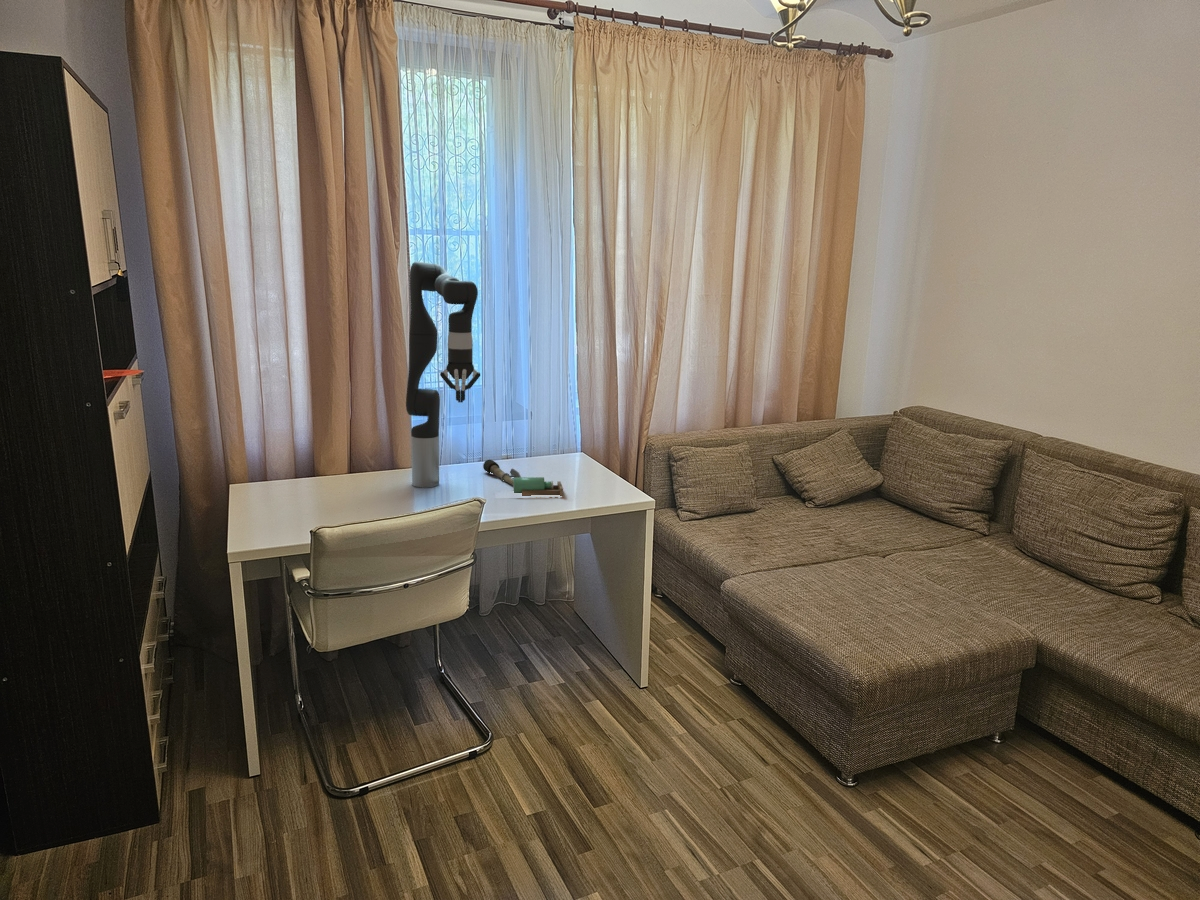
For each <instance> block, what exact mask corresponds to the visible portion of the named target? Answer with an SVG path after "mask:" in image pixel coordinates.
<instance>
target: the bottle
mask: <svg viewBox="0 0 1200 900" xmlns="http://www.w3.org/2000/svg"><path fill="white" fill-rule="evenodd" d="M512 480H513V485H512V487H513V488H512V489H513V490H512V491H514V493H522V490H544V489H553V485H554V481H553V480H551V481H549V480H548V481H545V477H543V476H541V477H538V476H537V477H533V476H532V477H531V476H530V477H527V476H526V477H525V476H524V477H522V476H521V477H514V479H513V478H512Z"/></svg>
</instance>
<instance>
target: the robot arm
mask: <svg viewBox="0 0 1200 900" xmlns="http://www.w3.org/2000/svg"><path fill="white" fill-rule="evenodd" d="M423 291H425V292H437V294H438V295H440V296H441V297H442V299H443V301H444V302H445V303H446V304H449V305H463V306H462V308H461V309H460V310H459V311H454V312H451V313H449V315H448V335H447V365H446V367H445V369H444V370H443V371H440V373H439V376H440V377H441V379H442V380H443V381H444V382H445V383H446V385H447V386H448V387H449V389H452V390H454V391H455V400H456V401H457V403H460V404H461V403H463V402H464V401H465V400H466V391H467V390H470V389H471V388H472V387H473V386H474V384H475V383H476V382H477V381H478V380H479V379H480V377H481V373H480V372H479V371H477V370H476V369H475V366H474V365H473V350H474V349H473V348H474V347H473V346H474V345H473V330H472V329H473V328H472V325H473V324H472V323H473V315H474V310H475V306H476V303H477V300H478V295H479V291H478V287H477V285H476V283H474V281H470V280H459V278H457V277H455V276H453V275H450V274H449V273H448V272H447V270H446V269H445V268H444V267H443V266H441V265H440V264H437V263H432V262H431V263H430V262H423V261H414V262H413V263H412V264H411V267H410V269H409V294H410V295H409V297H410V314H409V315H410V317H409V320H410V321H409V335H408V336H409V337H408V338H409V339H408V348H409V349H408V375H407V376H408V377H407V383H406V395H405V396H406V397H405V409H406V413H407V414H408V415H409V416H412V417H427V421H425V422H424V423H420V424H417V425H415V426H412V428H410V429H411V430H410V435H411V437H410V438H411V443H410V444H411V484H412V486H413V487H417V488H431V487H432V488H433V487H437V486H439V485H440V412H441V411H440V409H441V407H440V405H441V399H440V398H441V396H440V393H439V391H438V390H437V389H432V388H431V389H429V388H419V387H420V381H421V377H422V375H423V373H424V372H425V370H426V369H427V367H428V366H429V364H430V362H431V361H432V360H433V359H434V357H435V354H436V352H437V350H438V329H437V326H436V324H435V322H434V321H433V319H432V317H431V316H430V314H429V312H428V310H427V308H426V305H425V302H424V298H423V297H424V296H423ZM471 374H472V378H471V379H470V381H469V382H468V383H466V382H467V381H466V380H468V379H469V378H470V376H471ZM449 375H450V377H451V378H452V379H453V380H454V383H453V382H452V381H451V379H450V378H449ZM460 380H461V382H460ZM460 383H461V385H460Z"/></svg>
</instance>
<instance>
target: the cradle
mask: <svg viewBox="0 0 1200 900" xmlns="http://www.w3.org/2000/svg"><path fill="white" fill-rule="evenodd" d="M531 495H560V496H563V497H564V487H563V484H562V482H561V481H557V484H553V489H544V490H522V496H531Z"/></svg>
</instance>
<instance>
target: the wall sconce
mask: <svg viewBox="0 0 1200 900" xmlns="http://www.w3.org/2000/svg"><path fill="white" fill-rule="evenodd" d="M482 467H483V469H484V471H485V472H486V471H487V472H489V473H490V472H491V473H493V474H495V475H494V476H496V477H498V478H499V477H500V478H499V479H501V481H502V480H504V481H505V483H506V482H507V483H508V484H509V485H512V486H513V478H512V477H522V476H521V474H520V471H517V470H516V469H514V468H513V467H512V468H511V470H510V471H509V473H507V472H506V473H505V472H504V471H503V470H502V469H501V467H500V465H499V464H498V462H496V461H495V460H492V459H487V460H485V461H484V463H483V464H482ZM487 472H486V473H487ZM489 473H488V474H489Z"/></svg>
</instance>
